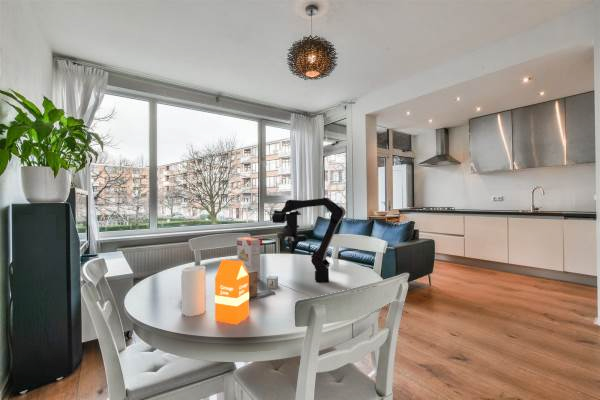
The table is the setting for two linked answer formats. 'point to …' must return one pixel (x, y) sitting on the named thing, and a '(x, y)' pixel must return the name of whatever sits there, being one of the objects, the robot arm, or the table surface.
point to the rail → (262, 294)
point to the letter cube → (272, 281)
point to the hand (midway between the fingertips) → (292, 253)
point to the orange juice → (231, 292)
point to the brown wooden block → (253, 283)
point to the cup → (193, 290)
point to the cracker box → (249, 253)
